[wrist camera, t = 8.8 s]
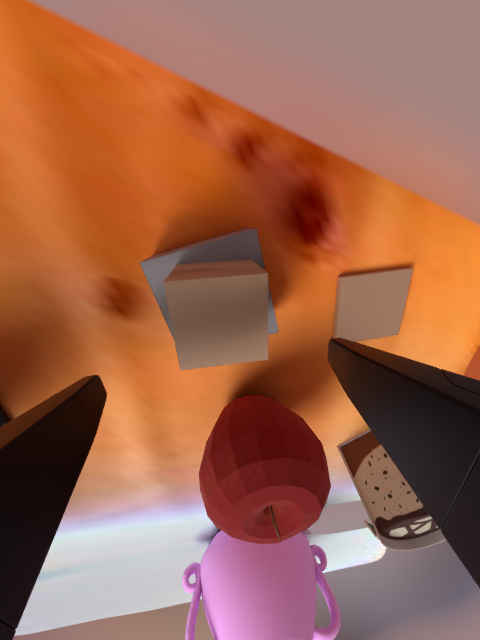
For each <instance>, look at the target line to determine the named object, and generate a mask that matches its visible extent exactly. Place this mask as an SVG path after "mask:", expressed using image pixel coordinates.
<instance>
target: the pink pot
mask: <svg viewBox="0 0 480 640" xmlns="http://www.w3.org/2000/svg"><path fill="white" fill-rule="evenodd" d="M314 555H315V556H317V557H318V558H319V559H320V561H321V564H317V561H316V559H315V556H314ZM326 566H327V559H326V555H325V553H324V551H323V550H322V549H321V548H320V547H319V546H317V545H311V546H310V544H309V541H308V539H307V538H306V536H305V535H304V533H302V532H300V533H298V534H297V535H295V536H293V537H291V538H288V539H286V540H284V541H282V542H280V543H277V544H256V543H251V542H246V541H242V540H238V539H235V538H232V537H230V536H229V535H227V534H226V533H224V532H223V531H222V530H220V531H219V532H218V533H217V534H216V535H215V536H214V538H213V540H212V541H211V543H210V544H209V546H208V548H207V550H206V551H205V553H204V555H203V558H202V561H201V565H200V564H199V563H192V564H191V565H189V566H188V567H187V568H186V569H185V571H184V574H183V580H182V582H183V587H184V590H185V591H186V592H187V593H192V592H193V591H194V593H193V597H192V602H191V606H190V611H189V615H188V620H187V626H186V640H194V632H195V621H196V615H197V610H198V605H199V601H200V596H201V593H202V599H203V604H204V609H205V612H206V617H207V620H208V623H209V626H210V629H211V631H212V634H213V636H214V639H215V640H333V639H334V638H335V637H336V635H337V633H338V631H339V627H340V612H339V608H338V605H337V602H336V599H335V597H334V595H333V592H332V590H331V588H330V587H329V584H328V582H327V580H326V579H325V577H324V575H323V573H322V571H324V570H325V568H326ZM192 574H195V576H196V583H194V584H190V583H189V580H188V579H189V577H190V576H191V575H192ZM316 581H317V583H318V585H319V587H320V589H321V591H322V593H323V595H324V597H325V599H326V602H327V604H328V607H329V610H330V614H331V624H330V626H329V627H327V628H325V629H321V628H316V627H315V626H314V621H315V608H316Z"/></svg>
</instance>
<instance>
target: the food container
mask: <svg viewBox="0 0 480 640" xmlns="http://www.w3.org/2000/svg"><path fill="white" fill-rule="evenodd" d="M337 447H338V449H339V452H340V454H341V456H342V458H343V460H344V463H345V465H346V467H347V469H348V471H349V474H350V476H351V478H352V480H353V482H354V485H355V487H356V489H357V491H358V493H359V496H360V498H361V500H362V502H363V504H364V506H365V509H366V511H367V513H368V515H369V518H370V520H371V522H372V524H373V525H371V524H369V523H368V522H367V521H366V520H365V521H364V522H365V523H366V524H367V526H368V527H369V529H370V530H371V531H372V533H373V534H374V535H375V537H376V538H377V539H378V540H380V541H381V543H382V544H383V545H384V546H385V547H387V548H389V549H392V550H398V551H408V550H415V549H421V548H425V547H428V546H431V545H435V544H437V543H440V542H442V541H445V540H446V538H445V537H444V536H443V534H442V533H441V531H440V530H441V529H439V528H438V526H437V525H436V524H435V522H434V521H433V519H432V518H431V516H430V515H429V513H428V512H427V511H426V509H425V508H424V506H423V505H422V503H421V502H420V500H419V499H418V497H417V496H416V495H415V493H414V492H413V490H412V489H411V487H410V486H409V484H408V483H407V481H406V480H405V479H404V477H403V476H402V474H401V473H400V471H399V470H398V468H397V467H396V465H395V464H394V463H393V461H392V460H391V458H390V457H389V455H388V454H387V452H386V451H385V450H384V448H383V447H382V445H381V444H380V442H379V441H378V439H377V438H376V436H375V435H374V434H373V432H372V431H371V429H368V430H366V431H364V432H363V433H361V434H359V435H357V436H355V437H353V438H351V439H349V440H347V441H346V442H344V443H342V444H340V445H338V446H337Z"/></svg>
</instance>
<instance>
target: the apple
mask: <svg viewBox="0 0 480 640" xmlns="http://www.w3.org/2000/svg"><path fill="white" fill-rule="evenodd" d="M199 481H200V491H201V494H202V498H203V501H204V505H205V508H206V512H207V515H208V517H209V518H210V519H211V521H212V522H213V523H214V524H215V526H216V527H217V528H219V529H220V530H222V531H223V532H224V533H226V534H227V535H229V536H230V537H232V538H235V539H238V540H242V541H246V542H251V543H256V544H277V543H280V542H282V541H284V540H286V539H288V538H291V537H293V536H295V535H297V534H298V533H300V532H302V531H304V530H306V529H307V528H309V527H310V526H311V525H312V524H313V523H314V522H316V521H317V520H318V519H319V516H320V514H321V512H322V510H323V508H324V506H325V503H326V501H327V498H328V494H329V491H330V487H331V485H330V479H329V472H328V466H327V460H326V456H325V453H324V449H323V446H322V443H321V442H320V440H319V439H318V438H317V436H316V435H315V434H314V432H313V431H312V430H311V429H310V427H309V426H308V425H307V423H306V422H305V421H304V419H303V418H301V417H300V416H298V415H297V414H295V413H294V412H292V411H291V410H289V409H288V408H287V407H285V406H284V405H282V404H281V403H279V402H278V401H276V400H274V399H273V398H270V397H266V396H263V395H247V396H244V397H241V398H238V399H234V400H233V401H232V402H231V403H229V404H228V405H227V406H226V407H224V409H223V411H222V412H221V414H220V416H219V418H218V420H217V422H216V424H215V426H214V428H213V430H212V432H211V434H210V436H209V438H208V440H207V442H206V446H205V451H204V455H203V459H202V463H201V467H200V471H199Z"/></svg>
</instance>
